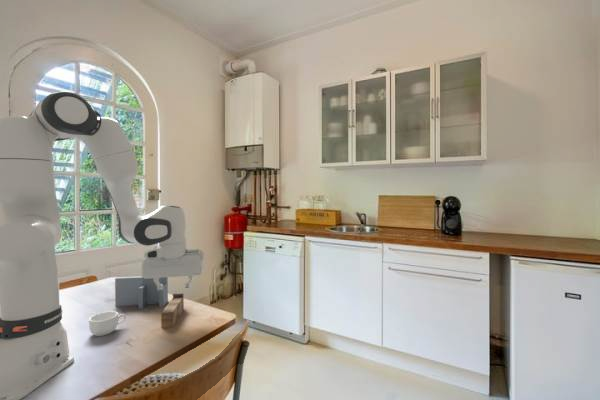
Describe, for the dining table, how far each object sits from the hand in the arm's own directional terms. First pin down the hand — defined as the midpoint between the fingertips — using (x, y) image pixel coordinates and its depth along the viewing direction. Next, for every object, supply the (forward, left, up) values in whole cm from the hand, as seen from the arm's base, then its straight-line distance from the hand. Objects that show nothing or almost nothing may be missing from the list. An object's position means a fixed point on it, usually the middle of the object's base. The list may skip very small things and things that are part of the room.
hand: (174, 288), depth 102 cm
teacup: (-7, +18, -11) cm, 23 cm away
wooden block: (0, 0, -11) cm, 11 cm away
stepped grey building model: (+14, +16, -11) cm, 24 cm away
